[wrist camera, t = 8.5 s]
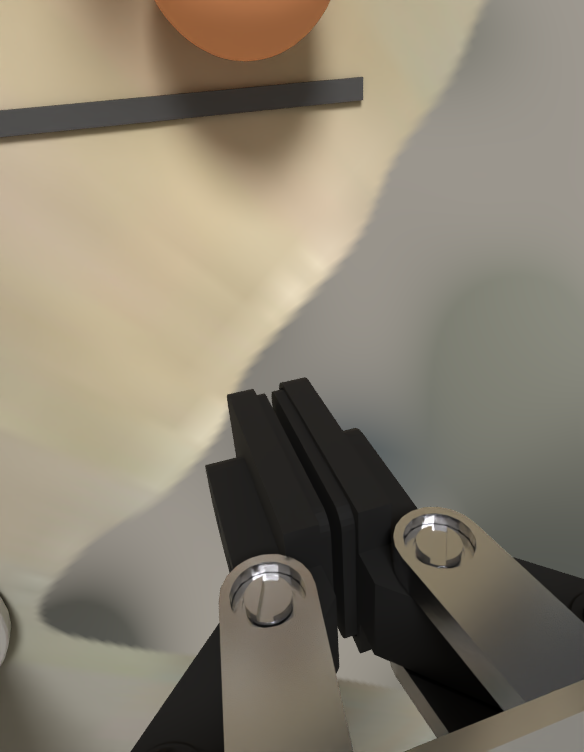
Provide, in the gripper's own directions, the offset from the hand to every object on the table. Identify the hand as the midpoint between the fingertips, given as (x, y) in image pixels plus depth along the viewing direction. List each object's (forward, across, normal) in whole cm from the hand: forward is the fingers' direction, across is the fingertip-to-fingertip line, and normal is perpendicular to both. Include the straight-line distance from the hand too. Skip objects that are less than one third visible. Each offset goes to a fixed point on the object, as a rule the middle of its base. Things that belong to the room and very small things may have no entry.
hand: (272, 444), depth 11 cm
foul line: (+13, -1, -6) cm, 15 cm away
